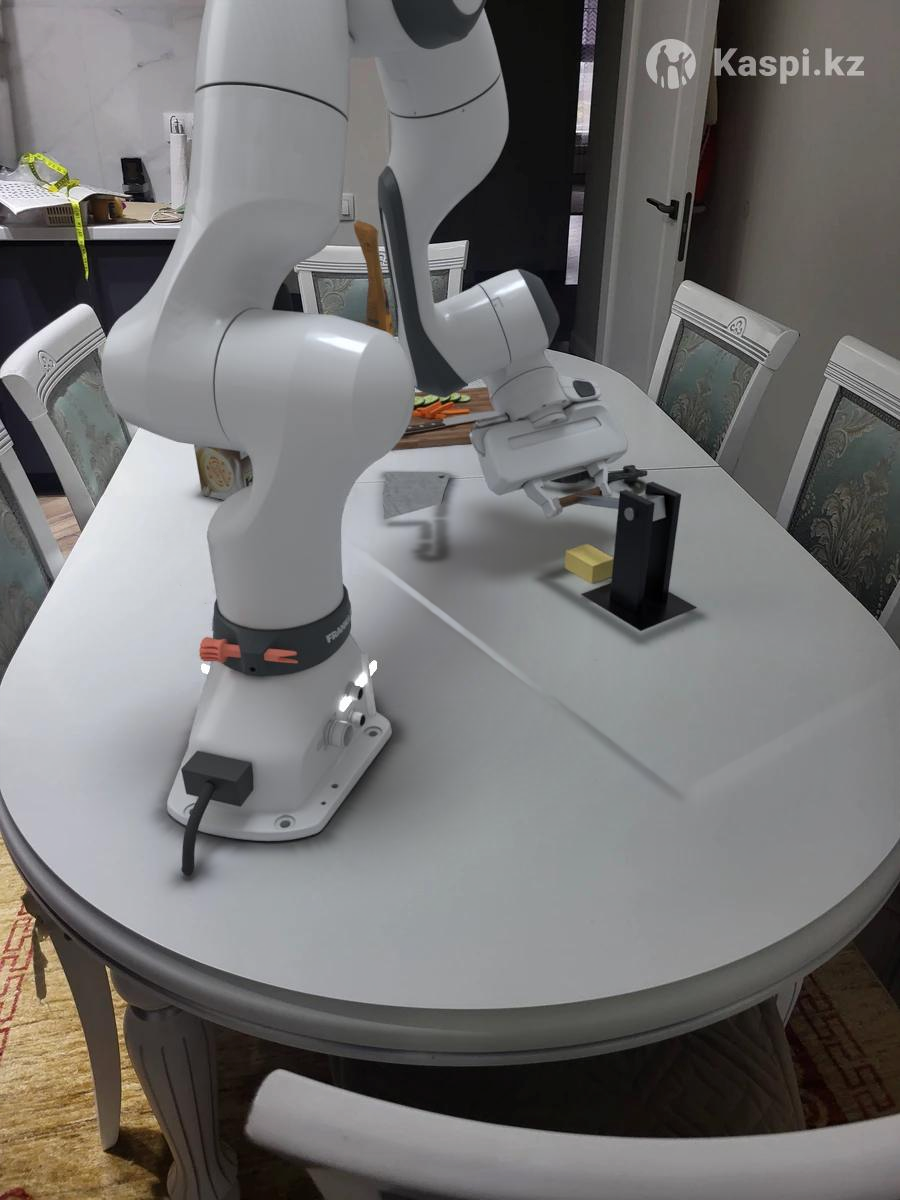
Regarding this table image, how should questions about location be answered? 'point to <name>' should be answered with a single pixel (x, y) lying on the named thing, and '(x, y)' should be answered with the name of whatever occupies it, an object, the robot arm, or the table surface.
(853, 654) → the table surface
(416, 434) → the chopping board
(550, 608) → the table surface
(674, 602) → the bracket
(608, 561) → the butter
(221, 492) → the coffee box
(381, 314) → the wooden handle
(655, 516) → the slicer arm
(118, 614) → the table surface
